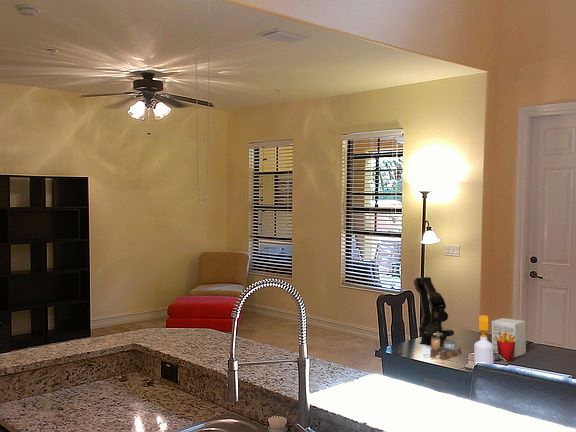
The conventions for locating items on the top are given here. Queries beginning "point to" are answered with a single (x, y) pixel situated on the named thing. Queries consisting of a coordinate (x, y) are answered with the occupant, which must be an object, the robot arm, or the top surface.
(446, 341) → the slate jar
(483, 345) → the soap bottle
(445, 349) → the pusher
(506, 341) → the french fries
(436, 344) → the terracotta jar
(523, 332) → the supplement box
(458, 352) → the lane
